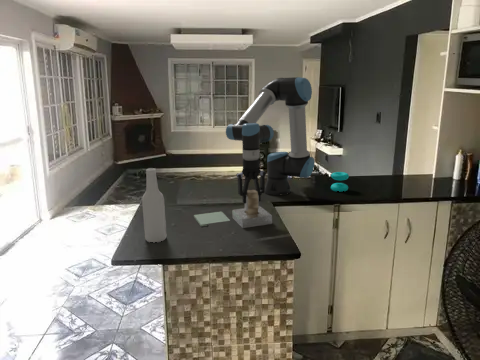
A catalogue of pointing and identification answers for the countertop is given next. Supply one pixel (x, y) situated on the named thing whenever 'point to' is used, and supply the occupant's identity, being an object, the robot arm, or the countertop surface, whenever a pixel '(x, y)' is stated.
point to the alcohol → (153, 209)
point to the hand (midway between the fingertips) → (251, 208)
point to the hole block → (252, 218)
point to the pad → (210, 218)
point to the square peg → (252, 202)
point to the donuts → (340, 176)
